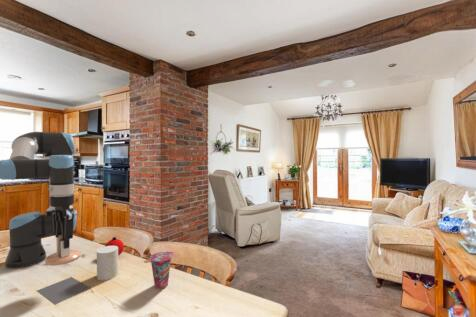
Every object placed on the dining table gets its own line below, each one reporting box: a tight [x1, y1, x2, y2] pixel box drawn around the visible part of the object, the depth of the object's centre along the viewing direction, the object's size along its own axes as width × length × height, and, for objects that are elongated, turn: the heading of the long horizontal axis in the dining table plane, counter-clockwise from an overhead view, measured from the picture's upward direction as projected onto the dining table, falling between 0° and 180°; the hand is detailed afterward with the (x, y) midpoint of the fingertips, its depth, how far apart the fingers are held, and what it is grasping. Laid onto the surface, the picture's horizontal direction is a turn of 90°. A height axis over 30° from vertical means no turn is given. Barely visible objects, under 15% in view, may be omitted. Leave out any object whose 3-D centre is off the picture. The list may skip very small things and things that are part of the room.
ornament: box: [104, 236, 125, 257], centre depth 123 cm, size 9×9×10 cm
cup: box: [149, 251, 175, 290], centre depth 97 cm, size 9×8×12 cm
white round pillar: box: [96, 245, 120, 281], centre depth 103 cm, size 8×8×12 cm
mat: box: [36, 276, 91, 305], centre depth 93 cm, size 16×12×1 cm
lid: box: [44, 235, 81, 267], centre depth 93 cm, size 11×11×9 cm
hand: (63, 254), depth 93 cm, fingers closed on lid, 3 cm apart
